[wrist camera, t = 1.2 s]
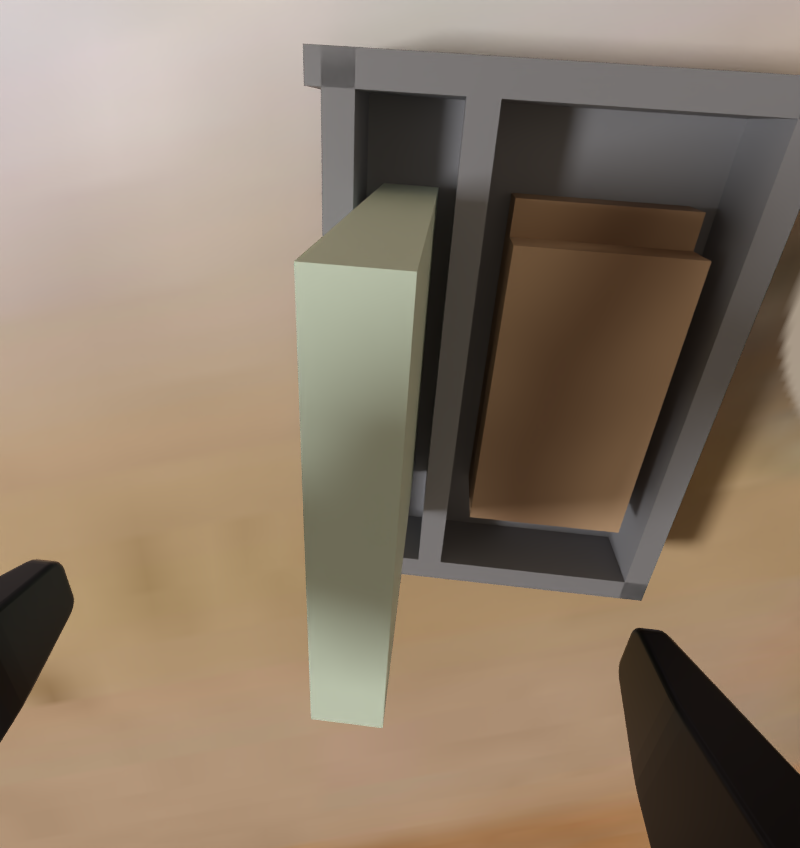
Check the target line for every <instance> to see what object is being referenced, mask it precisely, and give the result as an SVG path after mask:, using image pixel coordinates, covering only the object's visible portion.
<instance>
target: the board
mask: <svg viewBox="0 0 800 848" xmlns="http://www.w3.org/2000/svg"><path fill="white" fill-rule="evenodd" d="M438 190H439V187H429V186H415V185H402V184H389V183H384V184H382V185H381V186H380V187H379V188H378V189H377V190H375V191H374V192H373V193H372V194H371V195H370V196H369V197H367V198H366V199H365V200H364V201H363V202H362V203H361V204H359V205H358V206H357V207H356V208H355V209H354V210H352V211H351V212H350V213H349V214H348V215H347V216H346V217H344V218H343V219H342V220H341V221H340V222H339V223H338V224H336V225H335V226H334V227H333V228H332V229H331V230H330V231H328V232H327V233H326V234H325V235H324V236H323V237H321V238H320V239H319V240H318V241H317V242H316V243H315V244H313V245H312V246H311V247H310V248H309V249H308V250H307V251H305V252H304V253H303V254H302V255H301V256H300V257H298V258H297V259H296V260H295V261H294V276H295V302H296V329H297V356H298V382H299V409H300V436H301V462H302V489H303V516H304V542H305V569H306V596H307V622H308V649H309V676H310V702H311V719H315V720H323V721H331V722H339V723H347V724H355V725H362V726H370V727H378V728H383V721H384V712H385V704H386V696H387V688H388V679H389V671H390V663H391V654H392V646H393V638H394V630H395V621H396V613H397V605H398V596H399V588H400V580H401V572H402V563H403V555H404V547H405V538H406V530H407V522H408V514H409V505H410V497H411V489H412V480H413V472H414V461H415V450H416V439H417V427H418V416H419V405H420V394H421V382H422V371H423V360H424V348H425V337H426V326H427V315H428V303H429V292H430V281H431V269H432V258H433V247H434V236H435V224H436V213H437V202H438Z"/></svg>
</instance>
